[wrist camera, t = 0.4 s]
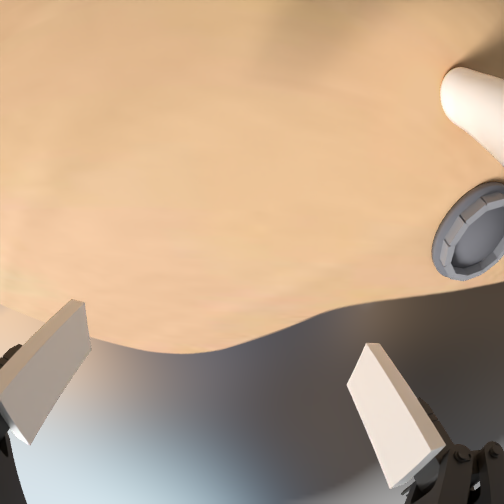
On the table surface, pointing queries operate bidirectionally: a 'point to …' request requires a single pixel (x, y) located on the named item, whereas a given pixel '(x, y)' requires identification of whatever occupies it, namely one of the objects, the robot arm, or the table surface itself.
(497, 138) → the drinking glass
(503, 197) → the coaster
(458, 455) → the robot arm
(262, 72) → the table surface
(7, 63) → the table surface
